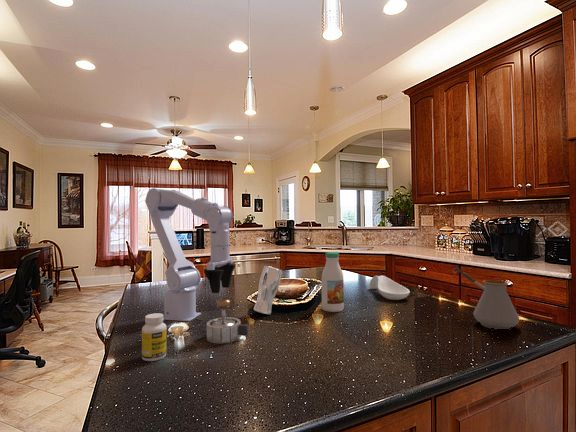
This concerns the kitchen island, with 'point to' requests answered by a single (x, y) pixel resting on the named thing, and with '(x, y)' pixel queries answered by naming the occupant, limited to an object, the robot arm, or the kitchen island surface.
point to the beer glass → (267, 289)
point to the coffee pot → (494, 305)
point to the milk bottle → (332, 284)
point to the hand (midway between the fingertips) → (220, 290)
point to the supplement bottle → (154, 338)
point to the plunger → (223, 314)
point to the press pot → (226, 331)
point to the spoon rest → (388, 288)
